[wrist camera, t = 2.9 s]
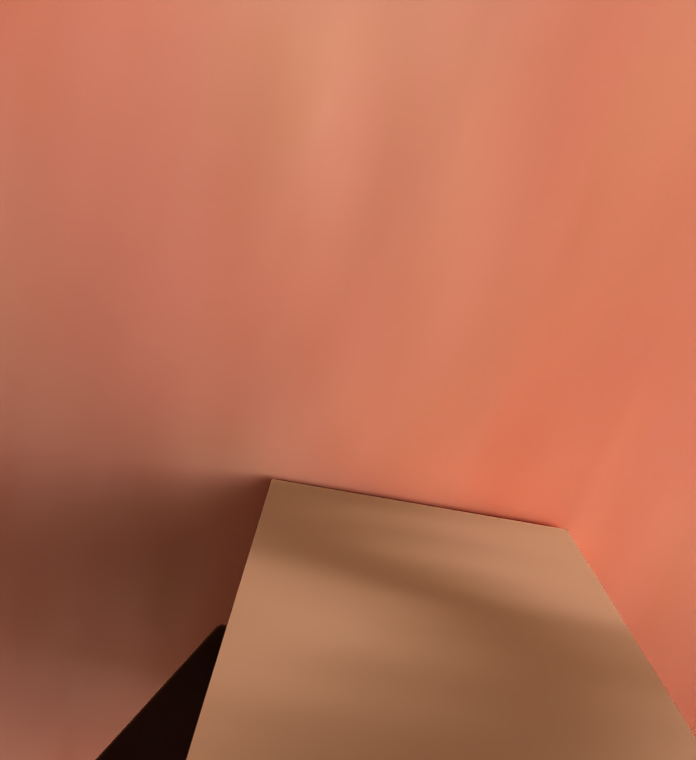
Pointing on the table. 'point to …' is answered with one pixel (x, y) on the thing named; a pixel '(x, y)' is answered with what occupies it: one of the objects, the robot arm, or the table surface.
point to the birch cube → (425, 643)
